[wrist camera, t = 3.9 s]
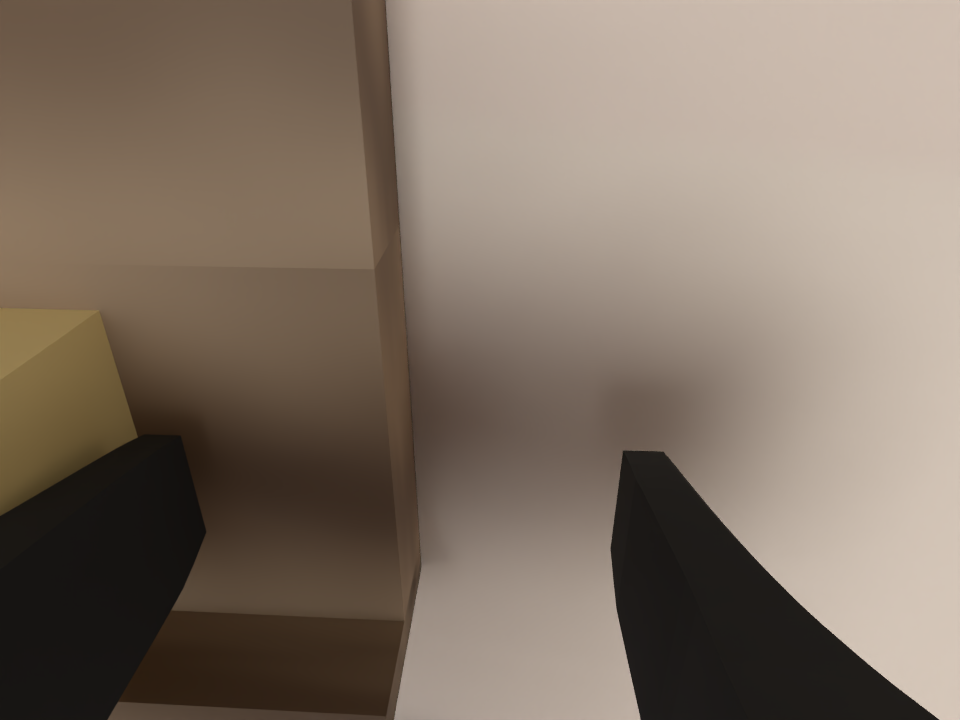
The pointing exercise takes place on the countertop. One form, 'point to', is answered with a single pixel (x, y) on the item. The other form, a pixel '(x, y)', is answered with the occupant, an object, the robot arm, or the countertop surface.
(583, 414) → the countertop surface
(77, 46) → the trap board
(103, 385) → the block
